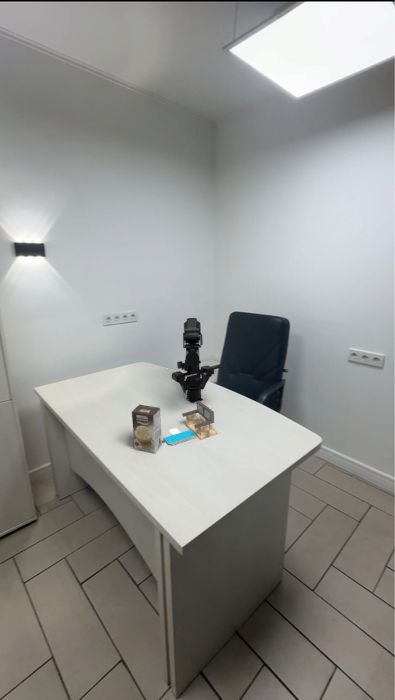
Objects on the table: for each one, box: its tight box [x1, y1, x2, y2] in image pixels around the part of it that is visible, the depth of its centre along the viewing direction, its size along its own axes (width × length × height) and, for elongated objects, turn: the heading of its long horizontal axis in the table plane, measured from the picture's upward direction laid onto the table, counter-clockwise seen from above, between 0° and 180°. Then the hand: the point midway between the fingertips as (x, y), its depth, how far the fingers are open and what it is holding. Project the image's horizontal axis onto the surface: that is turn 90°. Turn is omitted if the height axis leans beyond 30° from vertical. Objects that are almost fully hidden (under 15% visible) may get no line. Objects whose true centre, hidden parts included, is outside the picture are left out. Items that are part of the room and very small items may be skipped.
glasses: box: [182, 400, 215, 428], centre depth 128 cm, size 8×12×5 cm
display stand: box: [184, 413, 218, 440], centre depth 130 cm, size 8×14×5 cm, turn 28°
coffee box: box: [131, 403, 163, 454], centre depth 116 cm, size 9×6×16 cm
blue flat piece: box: [162, 427, 197, 447], centre depth 126 cm, size 20×12×2 cm, turn 118°
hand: (193, 391), depth 139 cm, fingers open, 9 cm apart
